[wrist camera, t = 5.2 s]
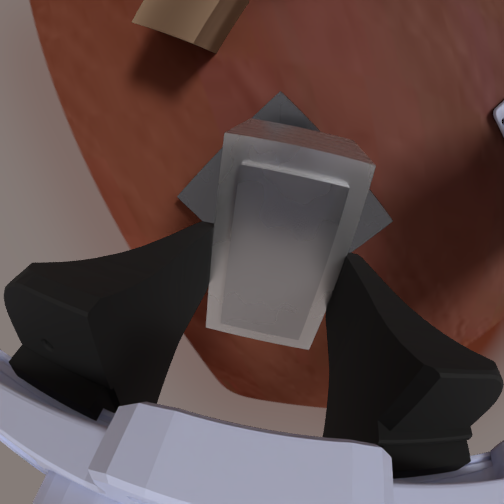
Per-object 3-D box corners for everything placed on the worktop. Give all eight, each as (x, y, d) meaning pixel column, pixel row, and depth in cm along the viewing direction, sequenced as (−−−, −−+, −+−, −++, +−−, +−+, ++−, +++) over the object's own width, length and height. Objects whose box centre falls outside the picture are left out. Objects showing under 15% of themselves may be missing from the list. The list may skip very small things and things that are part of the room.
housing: (310, 286, 16) (308, 355, 12) (229, 269, 16) (204, 332, 12) (353, 140, 12) (378, 168, 8) (250, 118, 12) (221, 134, 8)
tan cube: (249, 2, 13) (234, -21, 9) (216, 53, 15) (193, 43, 11) (194, -17, 12) (168, -38, 9) (163, 33, 14) (131, 22, 11)
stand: (388, 213, 18) (392, 221, 17) (286, 288, 22) (285, 298, 21) (281, 92, 15) (280, 91, 14) (183, 191, 19) (177, 196, 18)
